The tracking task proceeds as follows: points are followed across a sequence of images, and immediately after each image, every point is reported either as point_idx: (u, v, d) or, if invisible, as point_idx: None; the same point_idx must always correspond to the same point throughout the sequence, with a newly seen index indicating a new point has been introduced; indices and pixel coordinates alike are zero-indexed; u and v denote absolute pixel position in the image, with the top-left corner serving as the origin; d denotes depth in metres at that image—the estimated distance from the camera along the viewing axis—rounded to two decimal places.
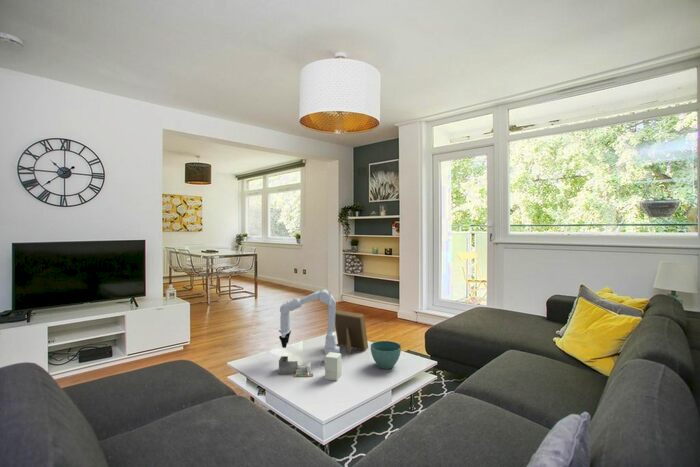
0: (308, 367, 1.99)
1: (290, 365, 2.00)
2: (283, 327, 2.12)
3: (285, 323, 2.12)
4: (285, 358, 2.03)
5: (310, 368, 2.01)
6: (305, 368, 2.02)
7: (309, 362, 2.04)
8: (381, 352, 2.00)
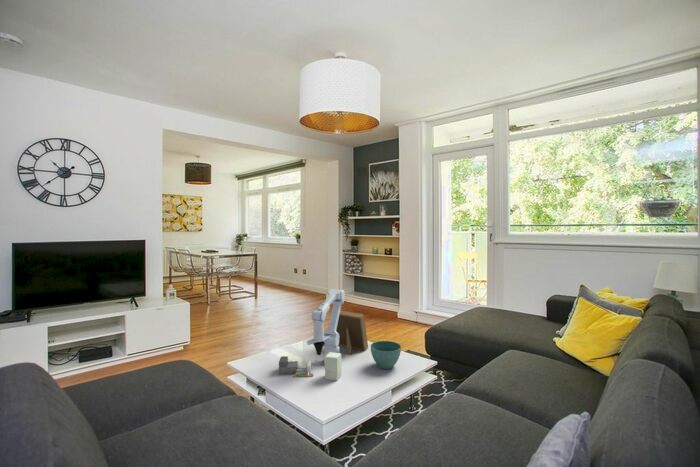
0: (308, 367, 1.99)
1: (290, 365, 2.00)
2: (314, 334, 2.01)
3: (323, 330, 2.01)
4: (285, 358, 2.03)
5: (310, 368, 2.01)
6: (305, 368, 2.02)
7: (309, 362, 2.04)
8: (381, 352, 2.00)
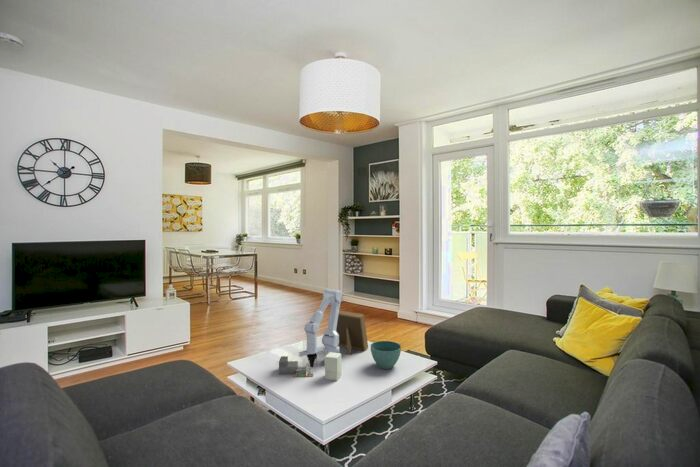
0: (306, 367, 1.99)
1: (290, 365, 2.00)
2: None
3: (315, 342, 2.01)
4: (285, 358, 2.03)
5: None
6: (303, 368, 2.02)
7: (307, 362, 2.04)
8: (381, 352, 2.00)
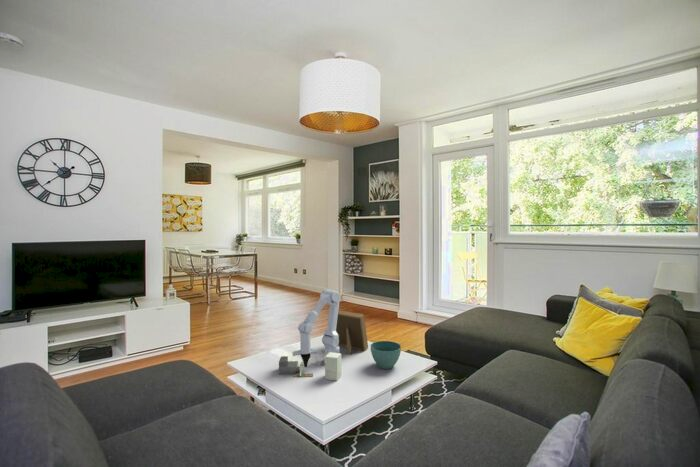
0: (300, 367, 1.99)
1: (290, 365, 2.00)
2: None
3: (309, 342, 2.00)
4: (285, 358, 2.03)
5: None
6: (297, 368, 2.02)
7: (302, 362, 2.04)
8: (381, 352, 2.00)
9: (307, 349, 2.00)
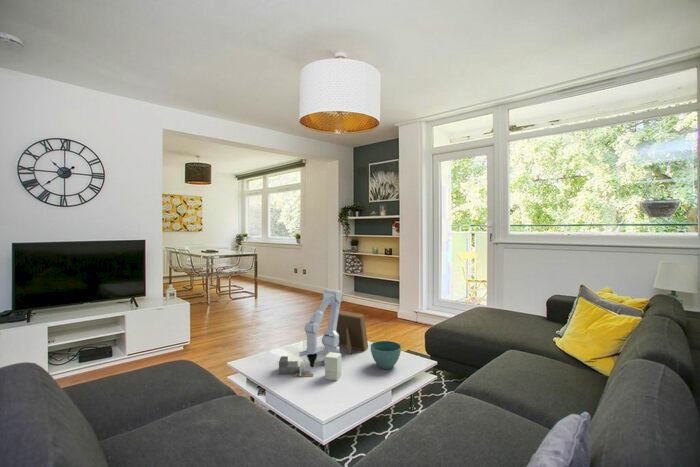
0: (300, 367, 1.99)
1: (290, 365, 2.00)
2: None
3: (316, 342, 2.01)
4: (285, 358, 2.03)
5: None
6: (297, 368, 2.02)
7: (302, 362, 2.04)
8: (381, 352, 2.00)
9: (314, 349, 2.00)
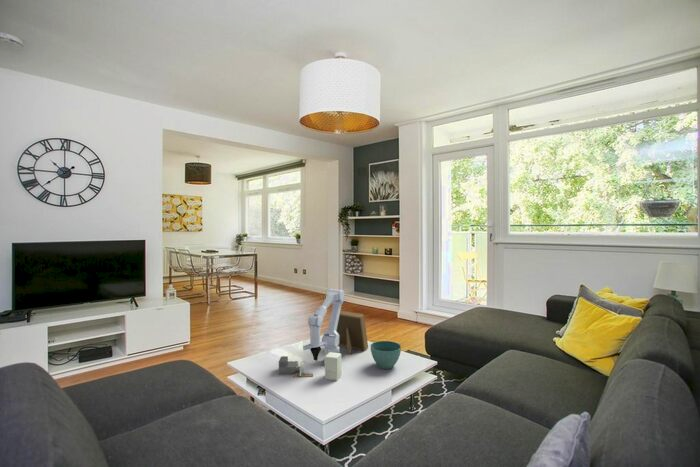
0: (300, 367, 1.99)
1: (290, 365, 2.00)
2: (310, 340, 2.01)
3: (319, 335, 2.01)
4: (285, 358, 2.03)
5: None
6: (297, 368, 2.02)
7: (302, 362, 2.04)
8: (381, 352, 2.00)
9: (318, 342, 2.00)
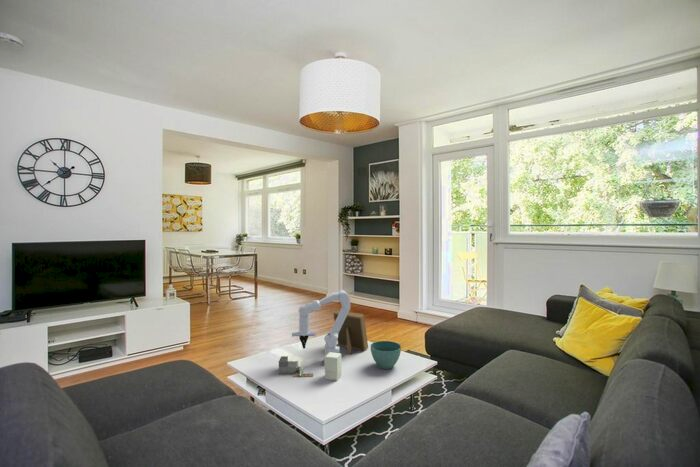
0: (300, 367, 1.99)
1: (290, 365, 2.00)
2: None
3: (305, 325, 2.10)
4: (285, 358, 2.03)
5: None
6: (297, 368, 2.02)
7: (302, 362, 2.04)
8: (381, 352, 2.00)
9: (304, 331, 2.10)
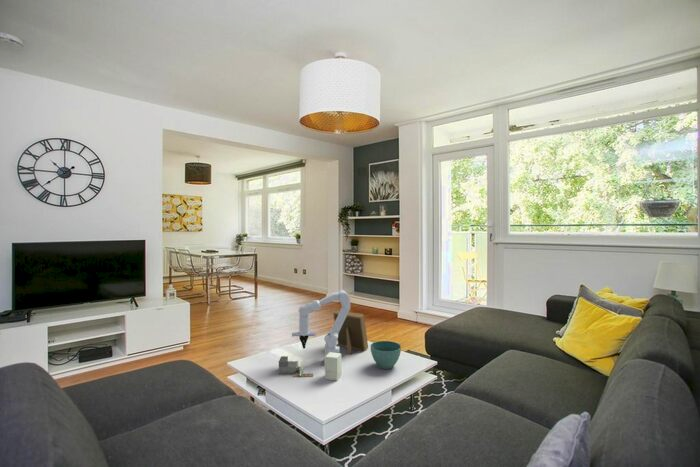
0: (300, 367, 1.99)
1: (290, 365, 2.00)
2: None
3: (305, 325, 2.10)
4: (285, 358, 2.03)
5: None
6: (297, 368, 2.02)
7: (302, 362, 2.04)
8: (381, 352, 2.00)
9: (304, 331, 2.10)
